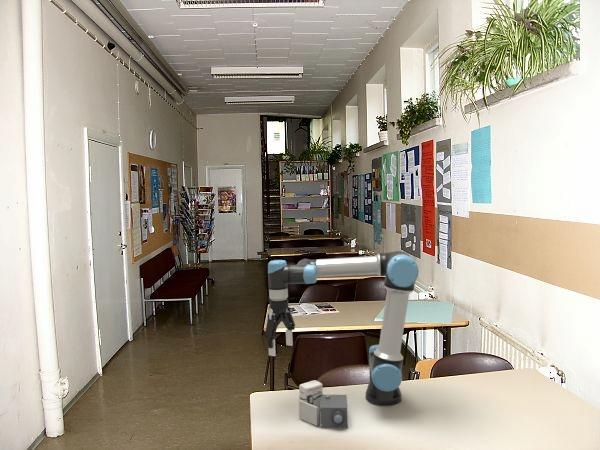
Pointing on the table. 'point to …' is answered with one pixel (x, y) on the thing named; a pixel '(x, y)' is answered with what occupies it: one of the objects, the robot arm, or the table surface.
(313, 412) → the door
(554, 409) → the table surface
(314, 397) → the ink box
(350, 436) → the table surface
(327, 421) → the housing
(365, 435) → the table surface
